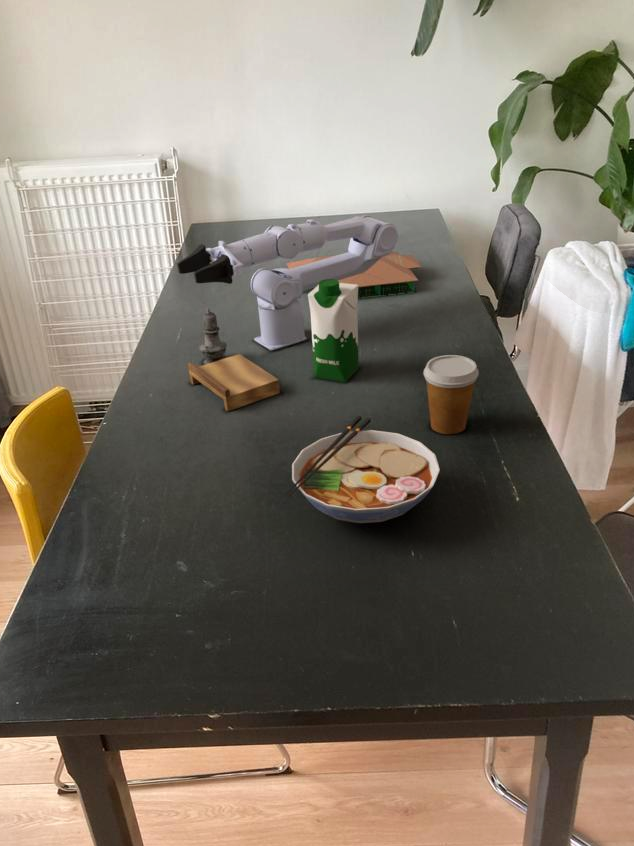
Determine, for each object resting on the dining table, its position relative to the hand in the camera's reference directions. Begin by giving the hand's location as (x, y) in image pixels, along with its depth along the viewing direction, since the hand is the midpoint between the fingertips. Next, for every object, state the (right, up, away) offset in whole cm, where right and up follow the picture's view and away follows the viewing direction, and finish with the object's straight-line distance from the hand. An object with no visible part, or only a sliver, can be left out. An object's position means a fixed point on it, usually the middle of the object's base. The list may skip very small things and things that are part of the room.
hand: (186, 273), depth 162 cm
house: (+37, +11, +47) cm, 61 cm away
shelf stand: (+9, -23, +2) cm, 25 cm away
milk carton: (+31, -19, +5) cm, 37 cm away
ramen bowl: (+33, -47, -34) cm, 67 cm away
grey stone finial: (+4, -15, +14) cm, 21 cm away
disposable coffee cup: (+50, -33, -15) cm, 62 cm away
